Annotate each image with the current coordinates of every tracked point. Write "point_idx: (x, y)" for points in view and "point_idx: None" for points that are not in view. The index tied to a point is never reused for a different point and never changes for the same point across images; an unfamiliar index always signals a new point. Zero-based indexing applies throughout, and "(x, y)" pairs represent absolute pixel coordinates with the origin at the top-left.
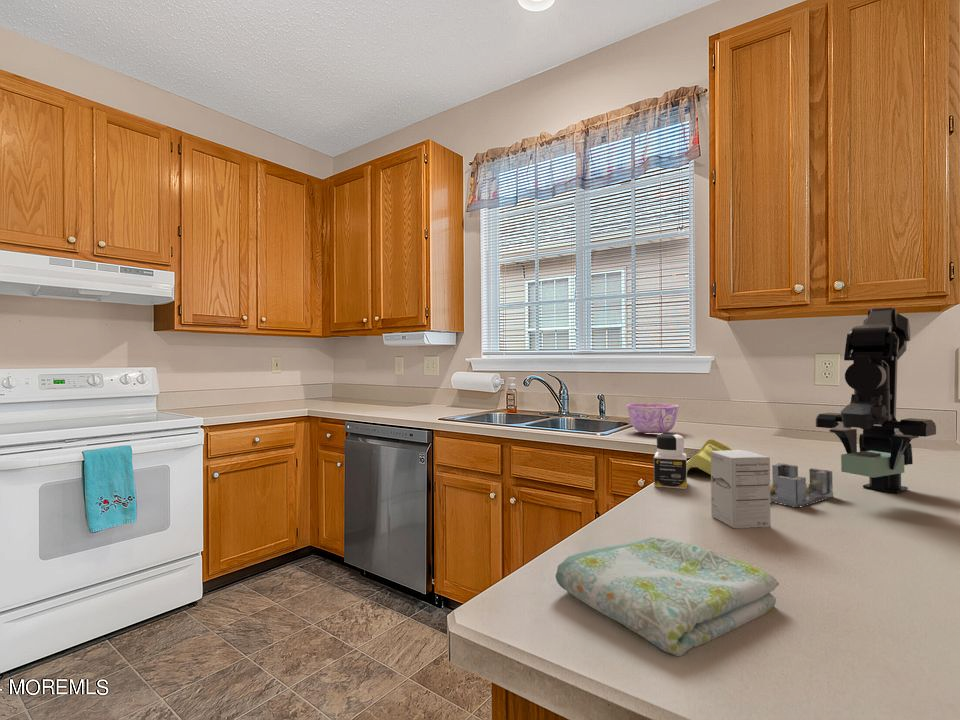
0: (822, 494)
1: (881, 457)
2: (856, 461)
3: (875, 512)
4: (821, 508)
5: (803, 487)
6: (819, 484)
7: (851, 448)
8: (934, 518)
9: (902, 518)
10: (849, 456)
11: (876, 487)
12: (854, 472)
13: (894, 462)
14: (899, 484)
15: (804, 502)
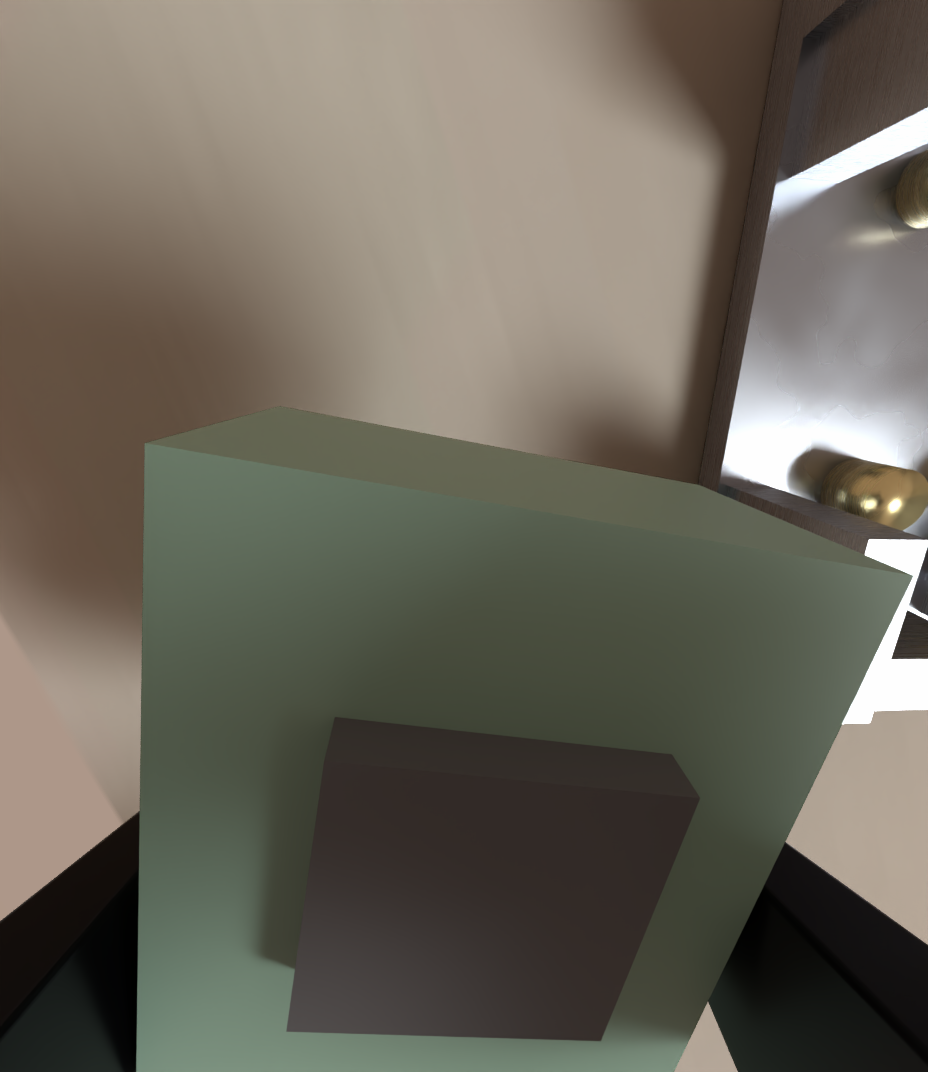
0: (731, 485)
1: (202, 843)
2: (552, 493)
3: (344, 396)
4: (643, 171)
5: (906, 59)
6: (803, 506)
7: (839, 1005)
8: (59, 550)
9: (163, 372)
10: (728, 543)
11: None
12: (539, 455)
13: (83, 864)
14: None
15: (780, 117)
